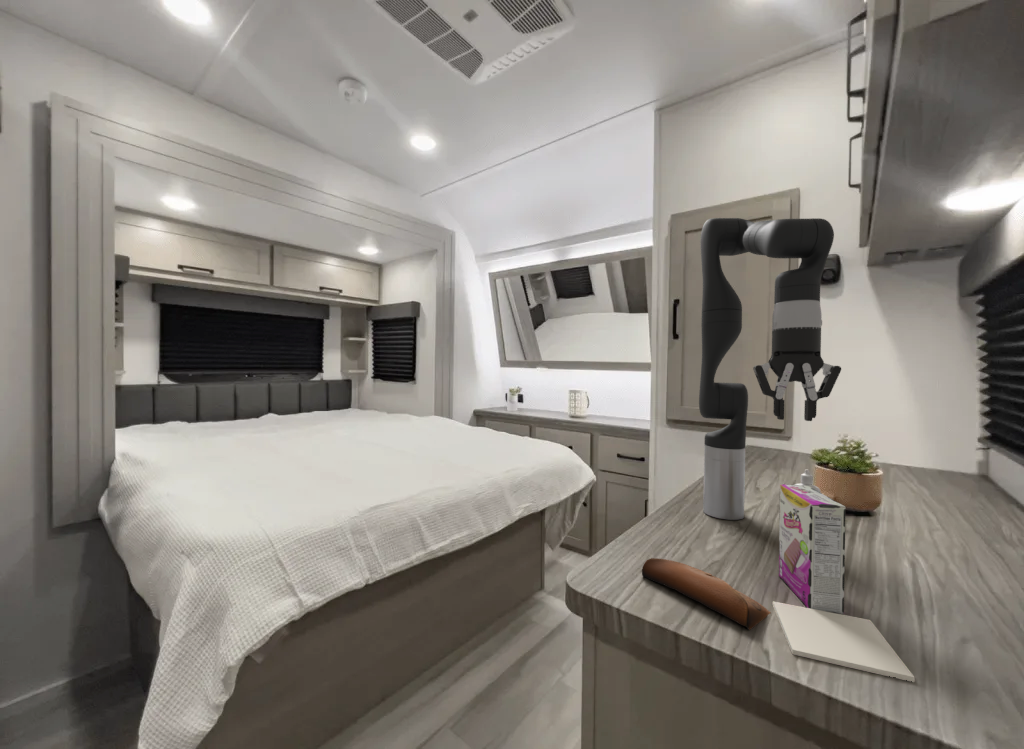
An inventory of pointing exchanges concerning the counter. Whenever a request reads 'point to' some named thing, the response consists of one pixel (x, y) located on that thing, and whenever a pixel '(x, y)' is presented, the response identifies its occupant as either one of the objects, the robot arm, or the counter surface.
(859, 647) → the board
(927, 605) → the counter surface
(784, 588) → the counter surface
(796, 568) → the candy bar box
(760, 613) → the sunglasses case
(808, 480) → the eye dropper bottle
